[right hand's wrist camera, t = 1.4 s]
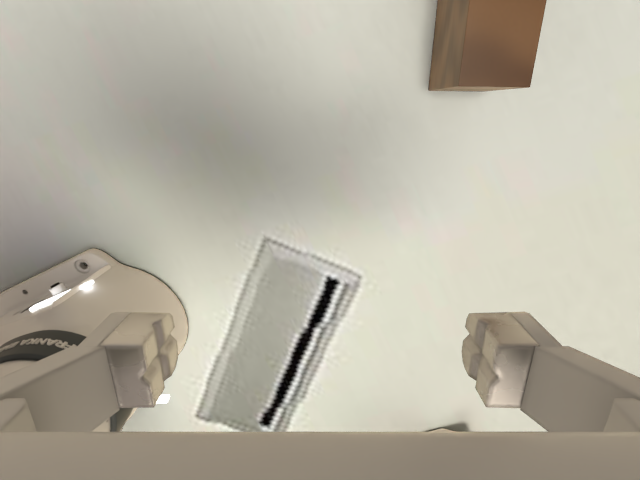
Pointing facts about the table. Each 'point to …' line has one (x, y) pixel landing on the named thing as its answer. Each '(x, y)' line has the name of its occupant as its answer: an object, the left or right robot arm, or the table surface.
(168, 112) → the table surface
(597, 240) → the table surface
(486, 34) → the bar
